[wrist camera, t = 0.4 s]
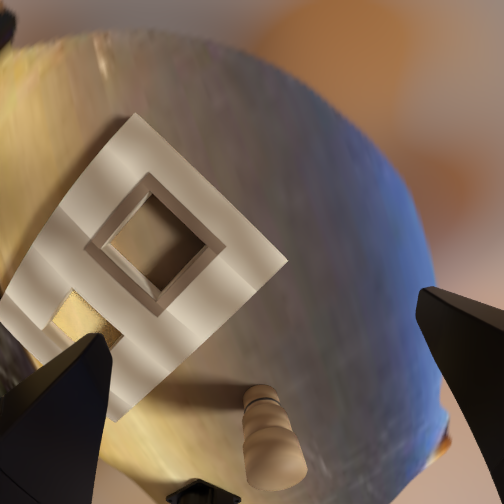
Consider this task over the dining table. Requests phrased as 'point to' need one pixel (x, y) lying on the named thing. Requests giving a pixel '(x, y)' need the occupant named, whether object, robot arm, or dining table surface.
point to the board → (126, 275)
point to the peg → (270, 442)
